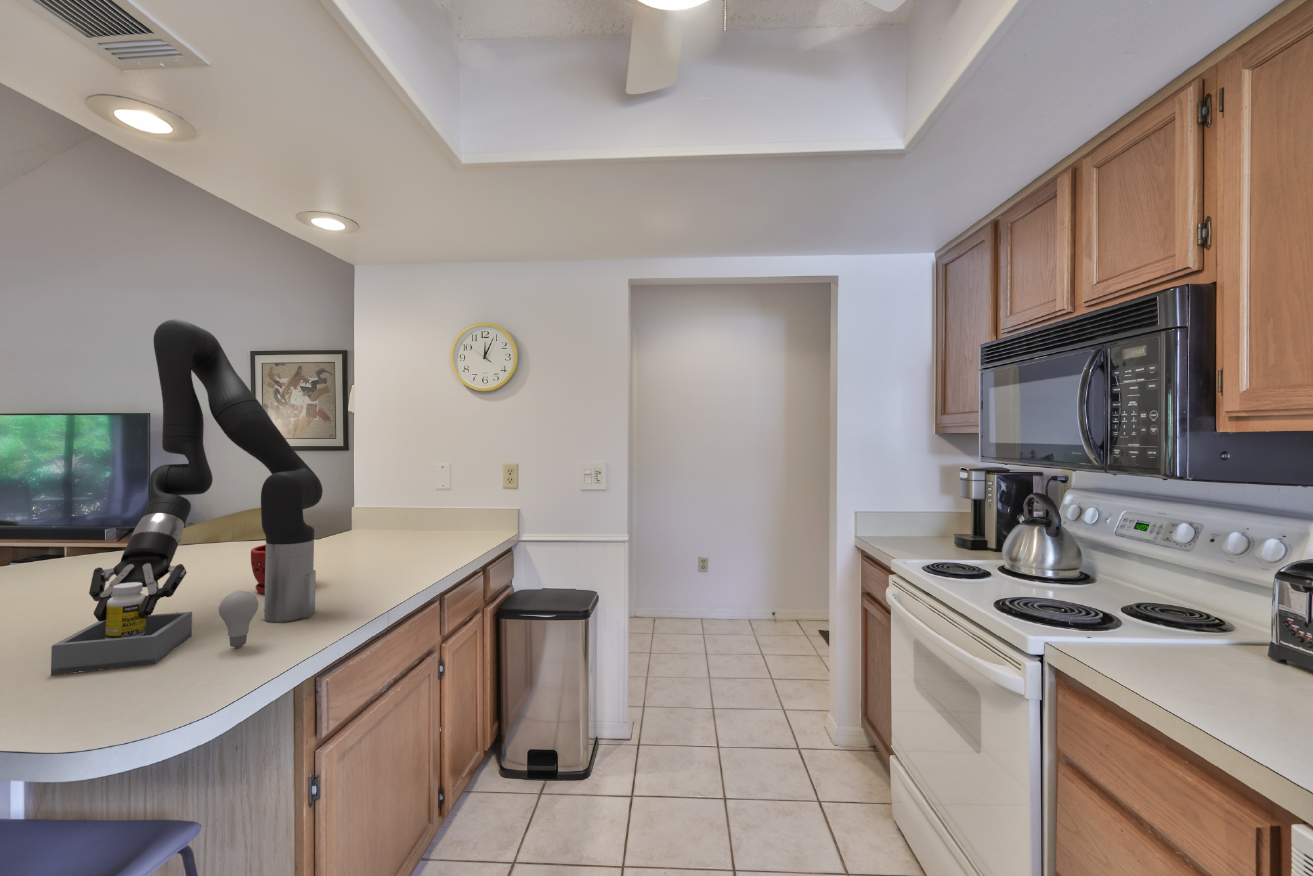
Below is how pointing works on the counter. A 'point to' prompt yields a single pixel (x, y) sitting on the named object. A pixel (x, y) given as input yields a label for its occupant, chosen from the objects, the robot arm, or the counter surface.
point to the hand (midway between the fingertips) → (121, 617)
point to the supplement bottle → (125, 612)
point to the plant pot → (259, 566)
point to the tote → (120, 645)
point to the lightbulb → (238, 615)
